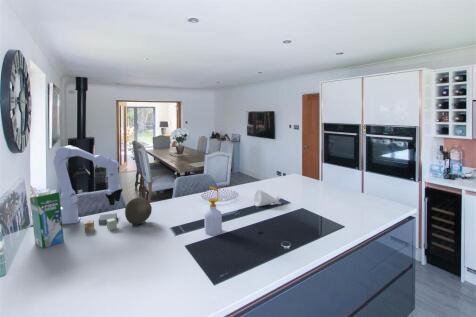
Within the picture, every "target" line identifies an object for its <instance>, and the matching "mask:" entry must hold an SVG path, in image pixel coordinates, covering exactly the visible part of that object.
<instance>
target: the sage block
mask: <svg viewBox="0 0 476 317" xmlns="http://www.w3.org/2000/svg"><path fill="white" fill-rule="evenodd" d="M106 221H107V224H106V229H107V230H108V231H109V230H110V231H113V229H114V230H117V229H118V225H117V223H118V222H117V220H116V219H115V218H112V219H107V220H106Z"/></svg>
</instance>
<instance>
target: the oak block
mask: <svg viewBox="0 0 476 317" xmlns="http://www.w3.org/2000/svg"><path fill="white" fill-rule="evenodd" d="M83 227H84V233H85V234H86V233H92V232H94V230H95V219H91V220H84V223H83Z"/></svg>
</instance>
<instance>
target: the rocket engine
mask: <svg viewBox="0 0 476 317" xmlns="http://www.w3.org/2000/svg"><path fill="white" fill-rule="evenodd" d="M253 198H254V199H253V203H254V205H255V207H263V206H268V205H269V206H273V205H281V204H282V202H280V200H281V197H279V195H276V196H272V195H270V194H269V193H267V192H265V191H263V190H261V189H257V190H256V191H255V193H254V197H253Z"/></svg>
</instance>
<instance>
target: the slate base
mask: <svg viewBox="0 0 476 317" xmlns="http://www.w3.org/2000/svg"><path fill="white" fill-rule="evenodd" d="M112 218H115V219H116V221H117V220H118V212H115V213H106V214H100V216H99V217H98V221H97V222H98V225H107V224H106V223H107V221H106V220H107V219H112Z"/></svg>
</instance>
